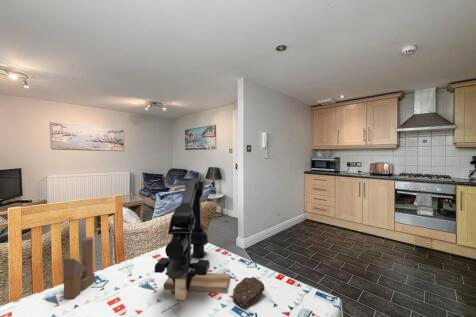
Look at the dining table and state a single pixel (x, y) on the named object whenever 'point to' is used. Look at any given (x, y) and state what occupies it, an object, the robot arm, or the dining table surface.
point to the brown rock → (247, 291)
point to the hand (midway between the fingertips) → (182, 289)
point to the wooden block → (79, 271)
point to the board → (205, 283)
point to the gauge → (181, 288)
